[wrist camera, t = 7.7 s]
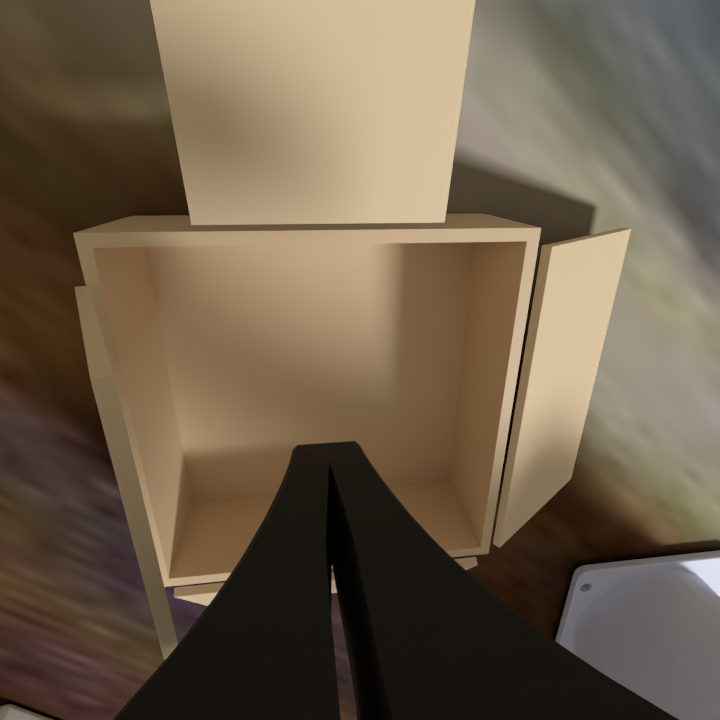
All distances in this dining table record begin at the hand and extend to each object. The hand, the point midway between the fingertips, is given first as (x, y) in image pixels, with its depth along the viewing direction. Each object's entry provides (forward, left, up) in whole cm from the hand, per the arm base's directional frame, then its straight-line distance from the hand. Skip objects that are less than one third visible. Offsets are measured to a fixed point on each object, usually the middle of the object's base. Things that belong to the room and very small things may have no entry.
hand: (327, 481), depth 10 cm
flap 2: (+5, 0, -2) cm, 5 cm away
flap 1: (0, +5, -2) cm, 5 cm away
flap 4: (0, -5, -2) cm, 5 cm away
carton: (0, 0, -6) cm, 6 cm away
